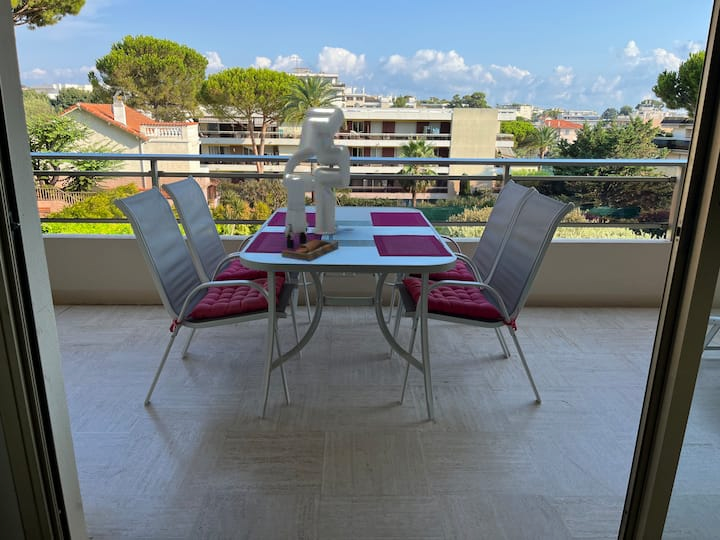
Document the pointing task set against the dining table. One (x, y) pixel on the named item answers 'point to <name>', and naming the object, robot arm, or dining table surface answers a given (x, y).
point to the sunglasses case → (309, 246)
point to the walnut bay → (314, 254)
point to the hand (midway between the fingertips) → (296, 246)
